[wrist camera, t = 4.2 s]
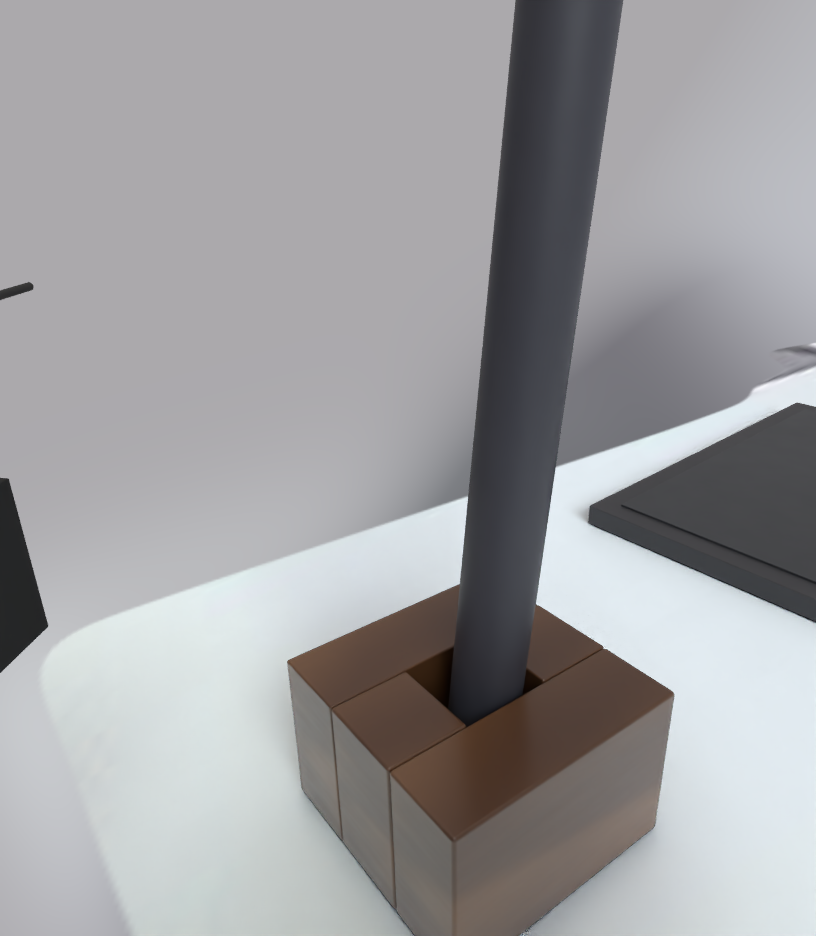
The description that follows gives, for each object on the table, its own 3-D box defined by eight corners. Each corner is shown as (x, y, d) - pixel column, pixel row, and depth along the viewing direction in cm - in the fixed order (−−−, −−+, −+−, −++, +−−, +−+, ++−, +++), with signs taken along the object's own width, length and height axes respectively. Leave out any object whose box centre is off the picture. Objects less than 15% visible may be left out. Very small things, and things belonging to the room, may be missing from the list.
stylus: (435, 782, 21) (513, -73, 13) (498, 781, 22) (614, -64, 13) (442, 837, 20) (536, -100, 12) (510, 835, 20) (651, -90, 12)
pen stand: (301, 788, 21) (286, 660, 20) (484, 688, 25) (486, 571, 23) (454, 989, 16) (453, 841, 14) (656, 827, 20) (676, 691, 18)
